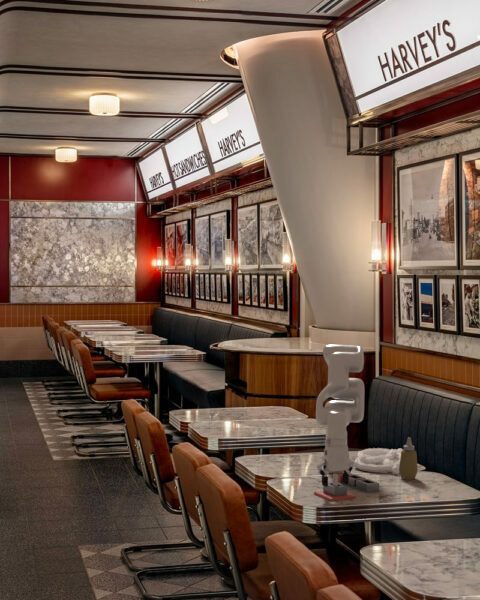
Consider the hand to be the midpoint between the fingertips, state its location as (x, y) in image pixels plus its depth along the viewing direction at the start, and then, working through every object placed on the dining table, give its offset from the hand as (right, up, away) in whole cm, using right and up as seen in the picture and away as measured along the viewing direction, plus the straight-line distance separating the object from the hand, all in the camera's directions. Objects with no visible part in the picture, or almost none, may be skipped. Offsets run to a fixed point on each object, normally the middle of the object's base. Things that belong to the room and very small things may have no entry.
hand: (335, 484), depth 351 cm
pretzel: (+27, -4, +55) cm, 61 cm away
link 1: (+10, -4, +19) cm, 22 cm away
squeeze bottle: (+35, -5, +33) cm, 49 cm away
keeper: (0, -5, 0) cm, 5 cm away
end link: (0, -4, 0) cm, 4 cm away
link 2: (+14, -5, +11) cm, 19 cm away
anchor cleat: (+7, -4, +26) cm, 27 cm away
